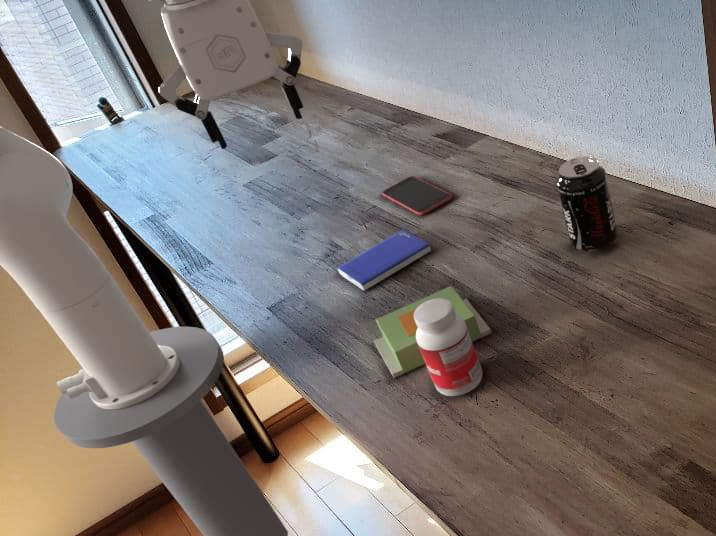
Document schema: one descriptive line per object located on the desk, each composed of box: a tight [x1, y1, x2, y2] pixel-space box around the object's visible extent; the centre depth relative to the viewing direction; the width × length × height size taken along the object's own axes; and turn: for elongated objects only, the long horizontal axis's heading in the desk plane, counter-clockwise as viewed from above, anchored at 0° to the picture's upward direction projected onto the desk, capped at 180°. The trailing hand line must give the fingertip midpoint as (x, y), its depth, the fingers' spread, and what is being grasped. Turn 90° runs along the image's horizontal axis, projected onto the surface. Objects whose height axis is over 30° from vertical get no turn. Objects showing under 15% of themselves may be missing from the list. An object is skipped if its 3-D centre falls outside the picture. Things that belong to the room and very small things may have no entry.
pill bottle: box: [414, 298, 483, 397], centre depth 100 cm, size 6×6×11 cm
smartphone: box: [381, 175, 453, 216], centre depth 144 cm, size 7×1×14 cm
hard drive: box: [337, 229, 432, 291], centre depth 129 cm, size 2×8×12 cm
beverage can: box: [556, 156, 618, 253], centre depth 117 cm, size 7×7×12 cm
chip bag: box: [373, 285, 492, 379], centre depth 111 cm, size 14×9×4 cm, turn 115°
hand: (261, 130), depth 103 cm, fingers open, 9 cm apart
